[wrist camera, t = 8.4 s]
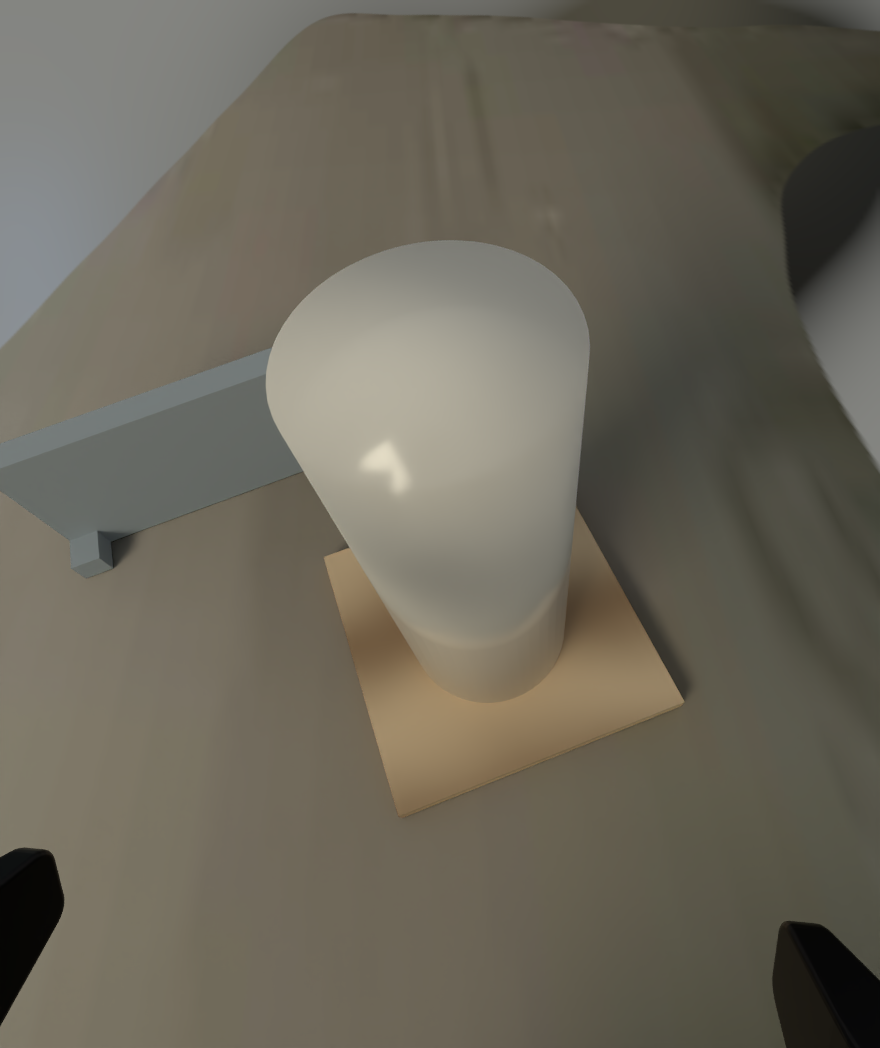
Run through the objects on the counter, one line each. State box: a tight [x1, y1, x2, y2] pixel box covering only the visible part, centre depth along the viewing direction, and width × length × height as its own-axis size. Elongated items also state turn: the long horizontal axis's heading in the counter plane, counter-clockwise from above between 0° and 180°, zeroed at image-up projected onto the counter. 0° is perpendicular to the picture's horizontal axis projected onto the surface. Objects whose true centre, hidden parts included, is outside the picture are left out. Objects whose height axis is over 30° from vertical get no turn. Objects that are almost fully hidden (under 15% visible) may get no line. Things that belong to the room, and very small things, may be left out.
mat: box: [324, 507, 684, 818], centre depth 23 cm, size 10×10×1 cm
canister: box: [266, 240, 590, 703], centre depth 17 cm, size 6×6×14 cm
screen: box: [0, 348, 303, 578], centre depth 26 cm, size 4×12×6 cm, turn 110°
